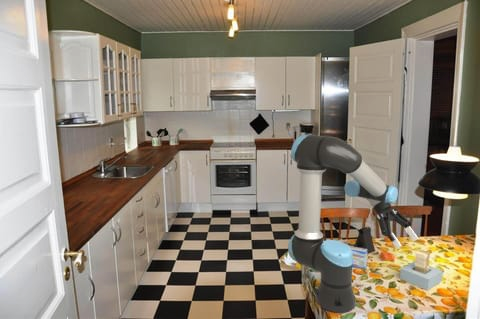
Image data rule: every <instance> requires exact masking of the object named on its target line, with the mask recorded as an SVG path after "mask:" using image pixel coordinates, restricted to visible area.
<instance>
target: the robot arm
mask: <svg viewBox="0 0 480 319" xmlns="http://www.w3.org/2000/svg"><path fill="white" fill-rule="evenodd" d="M290 156H291V158H292V160H293V161H294V162H295V163H296V169H297V170H298V171H299V174H300V176H299V204H298V206H299V207H298V228H297V230H296V231H294V234H292V236H291V238H290V240H289V241H288V246H287V248H288V251H287V252H288V254H289V257H290V258H291V259H292V260H293V261H295V262H296V263H298V264H300V265H302V266H304V267H307V268H309V269H311V270H314V271H317V272H319V273H320V282H319V285H318V288H317V290H316V293H315V301H316V304H317V305H318V306H319V307H320V308H322V309H324V310H326V311H328V312H332V313H336V314H337V313H342V314H344V313H349V312H351V311H353V310H354V309H355V308H356V304H357V302H356V300H357V298H356V295H355V292H354V289H353V286H352V285H353V284H352V283H353V281H352V280H353V267H352V263H353V257H352V251H351V248H350V246H349V245H348V244H346V243H344V242H342V241H339V240H333V239H327V240H324V234H323V232H322V231H321V208H322V207H321V206H322V186H323V184H322V183H323V173H324V172H326V170H327V168H332V169H335V170H336V169H337V170H339V171H340V172H342V173H343V174H345V175H346V174H347V175H349V176H350V178H352V180H349V181H346V183H345V184H344V187H343V188H344V193H345V194H346V195H347V197H350V198H356V197H359V198H364V199H366V200H367V202H369V204H370V206H371V207H373V210H374V212H375V213H376V214H377V215H375V218H376V220H377V222H378V226H379V228H380V231H381V235H382V236H384V237H387V238H388V239H389V241H390V242H391V243H392V245H393V246H394V247H395V249H396V250H397V249H399V248H401V247H402V246H403V245H402V243H401V242H400V241H399V240H398V238H397V237H396V235H395V234H394V232H392V230H391V229H392V228H391V222H395V223H397V224H399V225H400V226H402V227H403V228H404V230H405V232H406V234H407V235H408V236H409V238H410V239H411V240H412V242H415V241H417V240H419V237H418V235H417V234H416V233H415V231H414V230H413V228H412V227H411V226H412V222H411V220H409V219H408V218H407V217H405V215H403V214H402V213H401V212H400V211H399V210H398V208H393V209H392V205H391V204H394V203H395V202H396V201H397V199H398V195H399V190H398V188H397V187H396V186H392V185H391V184H389V185H388V184H387V183H386V182H385V181H384V180H383V179H381V177H380V176H379V175H378V174H376V172H375V171H374V170H373V169H372V168H371V167H370V166H368V164H367V163H366V162H365V161H364V160H363V156H362V154H361V153H360V152H359V151H358V150H357V149H356V148H355V147H353V146H352V145H350V144H349V143H347V142H346V141H345V140H343V139H341V138H338V137H336V136H335V137H334V136H326V135H325V136H324V135H317V134H316V135H315V134H302V135H300V136H298V137H297V138H296V140H294V141H293V144H292V146H291V151H290ZM352 309H353V310H352ZM350 310H351V311H350Z"/></svg>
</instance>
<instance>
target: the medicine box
mask: <svg viewBox="0 0 480 319" xmlns="http://www.w3.org/2000/svg"><path fill="white" fill-rule="evenodd" d="M349 247H350V248H351V251H352V257H353V263H352V268H357V269H361V270H366V268H367V266H368V254H367V251H368V249H364V248H358V247H354V245H353V246H351V245H350V246H349Z"/></svg>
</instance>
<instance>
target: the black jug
mask: <svg viewBox="0 0 480 319" xmlns="http://www.w3.org/2000/svg"><path fill="white" fill-rule="evenodd" d="M371 232H372V228H371V227H370V226H365V227H361V228H359V229H358V234H357V238H356V240H355V242H354V245H353V247H358V248H364V249H368V251H367V255H369V254H371V253H373V252H375V251H376V249H375V244H374V241H373V236H372V233H371Z"/></svg>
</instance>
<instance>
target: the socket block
mask: <svg viewBox="0 0 480 319" xmlns="http://www.w3.org/2000/svg"><path fill="white" fill-rule="evenodd" d="M443 272H444V271H443V269H442V270H441V269H439V268H437V267H434V266H431V265H429V272H428V273H426V274H423V273H420V272H418V271H415V260H413V261H412V262H410V263H408V264H406V265H405V266H403V267H401V268H400V273H399V275H400V276H399V279H400V280H401V281H404V282H406V283H408V284H411V285H413V286H416V287H417V288H420V289H423V290H426V291H430V290H431V289H433V288H434V287H436V286H437V285H439V284H440V283H442V282H443Z"/></svg>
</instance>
